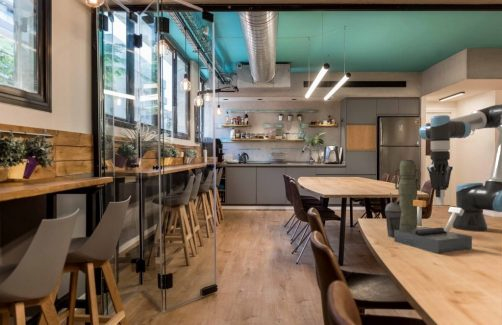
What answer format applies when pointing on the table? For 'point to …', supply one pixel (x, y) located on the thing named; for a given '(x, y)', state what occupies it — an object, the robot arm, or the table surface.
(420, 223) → the orange mallet
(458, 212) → the white toy hammer
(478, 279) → the table surface
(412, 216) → the thermos
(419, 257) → the table surface
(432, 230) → the cord bundle
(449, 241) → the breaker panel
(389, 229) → the beverage cup
